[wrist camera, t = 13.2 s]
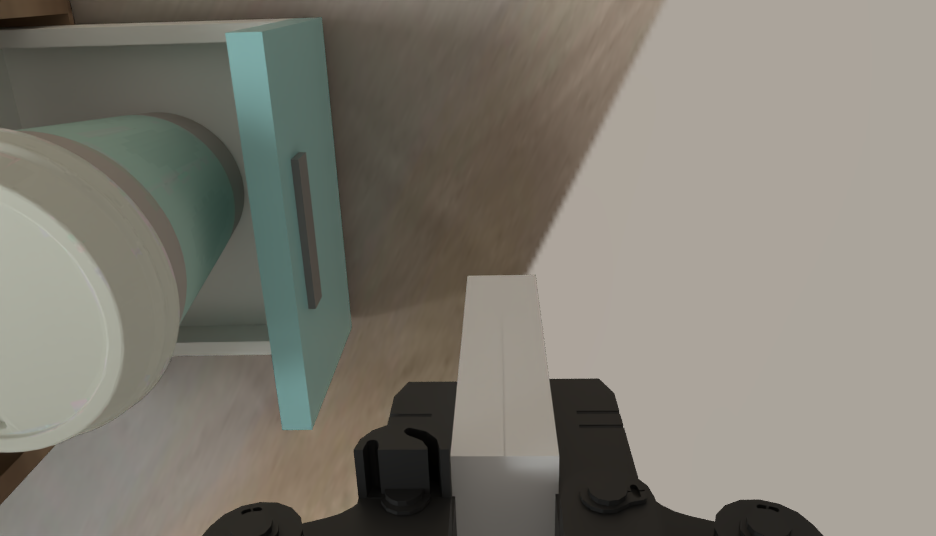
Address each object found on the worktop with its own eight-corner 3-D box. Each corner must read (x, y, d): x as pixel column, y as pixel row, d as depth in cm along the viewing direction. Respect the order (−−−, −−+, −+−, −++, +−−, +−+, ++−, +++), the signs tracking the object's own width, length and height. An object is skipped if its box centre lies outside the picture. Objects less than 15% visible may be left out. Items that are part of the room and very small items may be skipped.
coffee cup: (30, 85, 27) (-288, 161, 16) (256, 63, 27) (90, 125, 16) (94, 296, 30) (-134, 482, 19) (298, 280, 30) (185, 461, 19)
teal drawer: (72, 331, 32) (-47, 434, 25) (-5, 27, 27) (-179, 44, 20) (357, 326, 32) (319, 429, 24) (328, 17, 27) (270, 31, 20)
